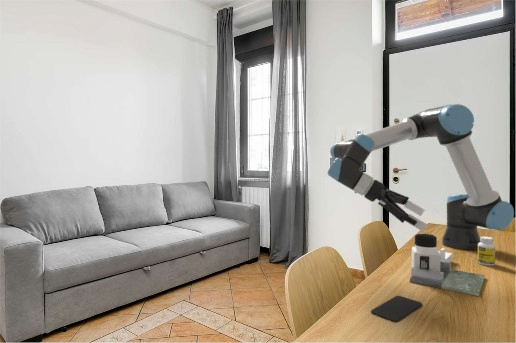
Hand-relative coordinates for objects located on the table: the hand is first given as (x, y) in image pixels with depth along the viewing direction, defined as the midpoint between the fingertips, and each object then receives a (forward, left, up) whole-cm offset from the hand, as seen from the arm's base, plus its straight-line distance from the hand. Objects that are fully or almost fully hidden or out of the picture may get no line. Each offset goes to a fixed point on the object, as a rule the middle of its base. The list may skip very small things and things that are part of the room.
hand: (423, 220), depth 116 cm
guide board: (+4, +8, -18) cm, 20 cm away
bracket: (-12, +2, -19) cm, 22 cm away
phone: (+35, +1, -19) cm, 40 cm away
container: (+4, +2, -17) cm, 18 cm away
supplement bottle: (-23, +16, -18) cm, 34 cm away
